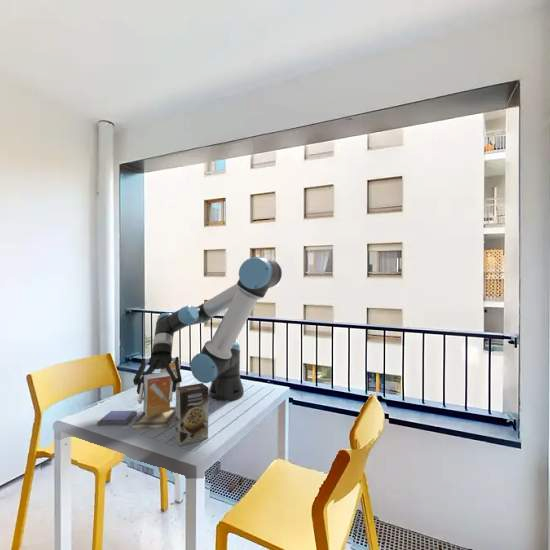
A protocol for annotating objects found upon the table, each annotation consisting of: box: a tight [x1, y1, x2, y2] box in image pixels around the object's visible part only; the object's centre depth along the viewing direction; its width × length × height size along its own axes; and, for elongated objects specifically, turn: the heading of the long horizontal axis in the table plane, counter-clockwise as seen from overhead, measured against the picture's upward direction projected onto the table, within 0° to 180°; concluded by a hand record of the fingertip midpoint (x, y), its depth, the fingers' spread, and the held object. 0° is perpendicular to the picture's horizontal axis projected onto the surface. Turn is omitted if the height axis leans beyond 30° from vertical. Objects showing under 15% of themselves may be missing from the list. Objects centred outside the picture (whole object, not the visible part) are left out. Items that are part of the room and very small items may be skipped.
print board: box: [131, 406, 176, 429], centre depth 114 cm, size 12×14×2 cm
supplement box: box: [159, 358, 181, 387], centre depth 146 cm, size 8×5×13 cm, turn 154°
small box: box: [143, 372, 171, 416], centre depth 115 cm, size 8×6×13 cm
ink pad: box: [96, 410, 138, 426], centre depth 114 cm, size 10×9×2 cm
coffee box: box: [174, 382, 210, 446], centre depth 101 cm, size 9×6×16 cm
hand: (155, 401), depth 112 cm, fingers closed on small box, 10 cm apart
